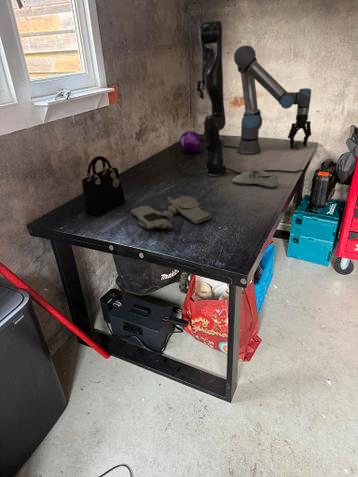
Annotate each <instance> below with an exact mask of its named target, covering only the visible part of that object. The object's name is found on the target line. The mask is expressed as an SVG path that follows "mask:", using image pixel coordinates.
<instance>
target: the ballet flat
mask: <svg viewBox="0 0 358 477" xmlns="http://www.w3.org/2000/svg"><path fill="white" fill-rule="evenodd" d="M257 171H258V172H257V173H253V172H254V171H253V169H248V170H245V171H243V172H240V173H241V174H237V175H236V176H234V177H233V178H232V179H231V181H232V182H233V184H238V185H244V186H245V185H246V186H247V185H253V184H254V185H258V186H261V187H265V188H267V189H275V188H277V186H278V184H279V182H278V178H277V174H276V173H274V174H271V173H269V172H268V171H267V172H265V171H261V170H257ZM259 173H261V174H263V175H259Z"/></svg>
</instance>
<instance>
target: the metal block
mask: <svg viewBox="0 0 358 477" xmlns="http://www.w3.org/2000/svg"><path fill="white" fill-rule="evenodd" d="M303 142H304V141H300V140H298V141H294V147H293V149H295V150H303V148H304V146H303Z"/></svg>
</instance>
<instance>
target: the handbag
mask: <svg viewBox="0 0 358 477" xmlns="http://www.w3.org/2000/svg"><path fill="white" fill-rule="evenodd" d="M99 161H101V163H102V168H101V170H100V171H99V172H97V170H96V165H97V163H98V162H99ZM106 165H107V168H106ZM91 171H92V174H91ZM86 172H87V173H86V176H85V177H84V178H82V179H81V185H82V193H83V194H82V195H83V200H84V201H83V202H84V209H85V210H84V211H85V213H86V214H90V215H93V216H97V217H98V216H99V217H100V216H102V215H103V214H105V213H108V212H109V211H111V210H113V209H115V208H116V207H118V206H119V205H121V204H123V203H125V202H126V198H125V193H124V188H123V185H122V180H121V177H120V172H119V169H118V168H117V167H112V165H111V162H110V161H109V160H108V158H106V157H105V156H103V155H96V156H95V157H93V159H92V160H91V161H90V162H89V164H88V167H87V170H86Z"/></svg>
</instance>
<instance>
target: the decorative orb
mask: <svg viewBox="0 0 358 477" xmlns="http://www.w3.org/2000/svg"><path fill="white" fill-rule="evenodd" d="M201 139H202V138H201V137H200V135H199V134H198V133H197V132H195V131H192V130H187V131H185V132H184V133H182V135H181V136H180V138H179V140H178V141H179V142H178V143H179V148H180V149H181V150H182V151H183V153H185V154H194V153H196V152H197V151H198V150H199V149H200V147H201V145H202V140H201Z"/></svg>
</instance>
